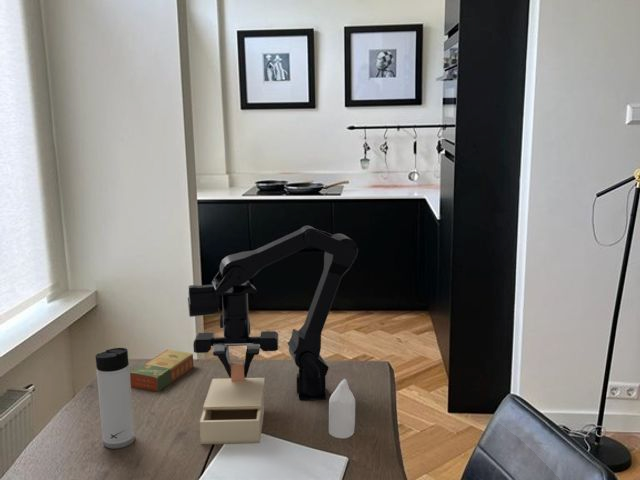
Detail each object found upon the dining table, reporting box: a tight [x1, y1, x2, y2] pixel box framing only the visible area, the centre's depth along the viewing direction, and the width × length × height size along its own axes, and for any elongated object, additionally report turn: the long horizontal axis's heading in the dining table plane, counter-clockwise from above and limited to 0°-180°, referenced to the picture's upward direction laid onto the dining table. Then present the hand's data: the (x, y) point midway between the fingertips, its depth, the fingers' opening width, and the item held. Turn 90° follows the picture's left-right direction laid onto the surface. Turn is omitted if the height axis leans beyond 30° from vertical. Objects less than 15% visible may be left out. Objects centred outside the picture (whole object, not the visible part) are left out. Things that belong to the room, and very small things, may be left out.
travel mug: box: [95, 347, 136, 450], centre depth 128 cm, size 6×7×20 cm
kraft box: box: [199, 389, 265, 446], centre depth 135 cm, size 12×14×5 cm
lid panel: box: [202, 361, 266, 411], centre depth 138 cm, size 12×14×5 cm
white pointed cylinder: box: [328, 378, 356, 440], centre depth 131 cm, size 6×12×6 cm
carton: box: [130, 349, 194, 392], centre depth 161 cm, size 8×16×4 cm, turn 159°
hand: (238, 377), depth 144 cm, fingers closed on lid panel, 3 cm apart
